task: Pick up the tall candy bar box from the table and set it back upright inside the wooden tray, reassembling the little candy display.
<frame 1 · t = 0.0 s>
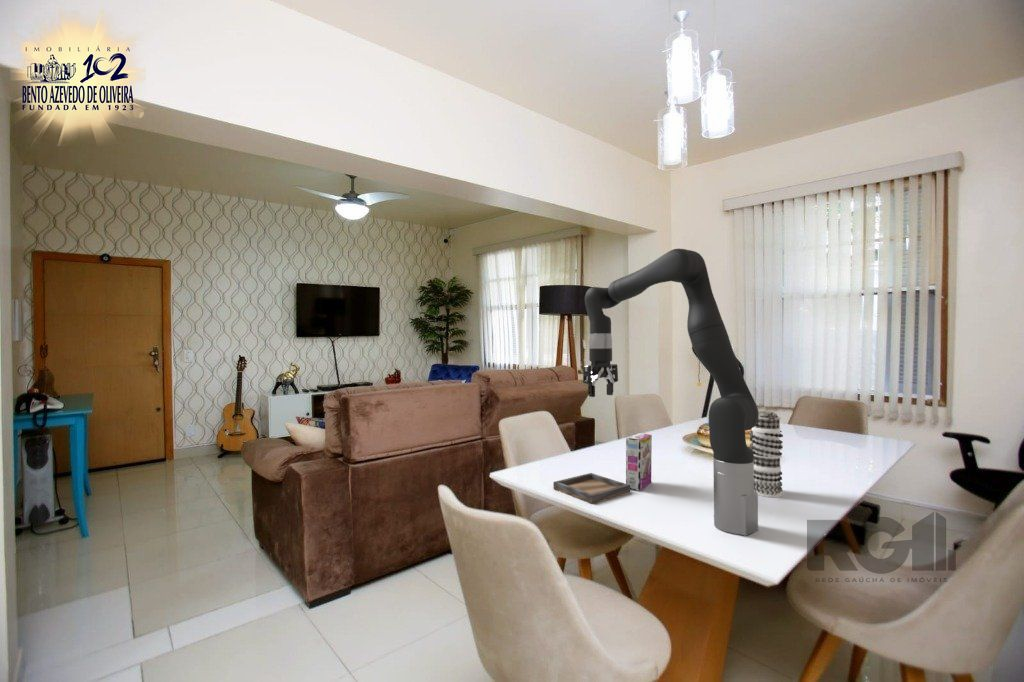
hand: (601, 395, 152), 29 cm above the table, tool pointing down, fingers open, 8 cm apart
wooden tray: (591, 490, 145), on the table
candy bar box: (639, 486, 150), on the table
decorative candle: (766, 493, 142), on the table
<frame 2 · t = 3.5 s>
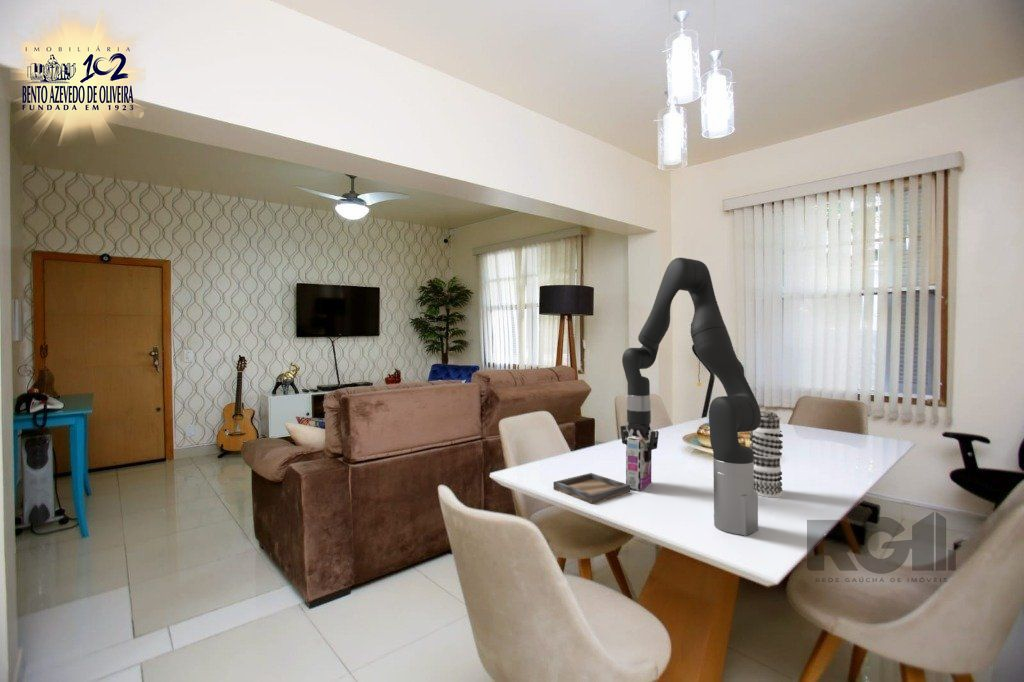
hand: (639, 459, 150), 9 cm above the table, tool pointing down, fingers closed on candy bar box, 6 cm apart
candy bar box: (639, 486, 150), on the table, touching gripper
everything else where it was.
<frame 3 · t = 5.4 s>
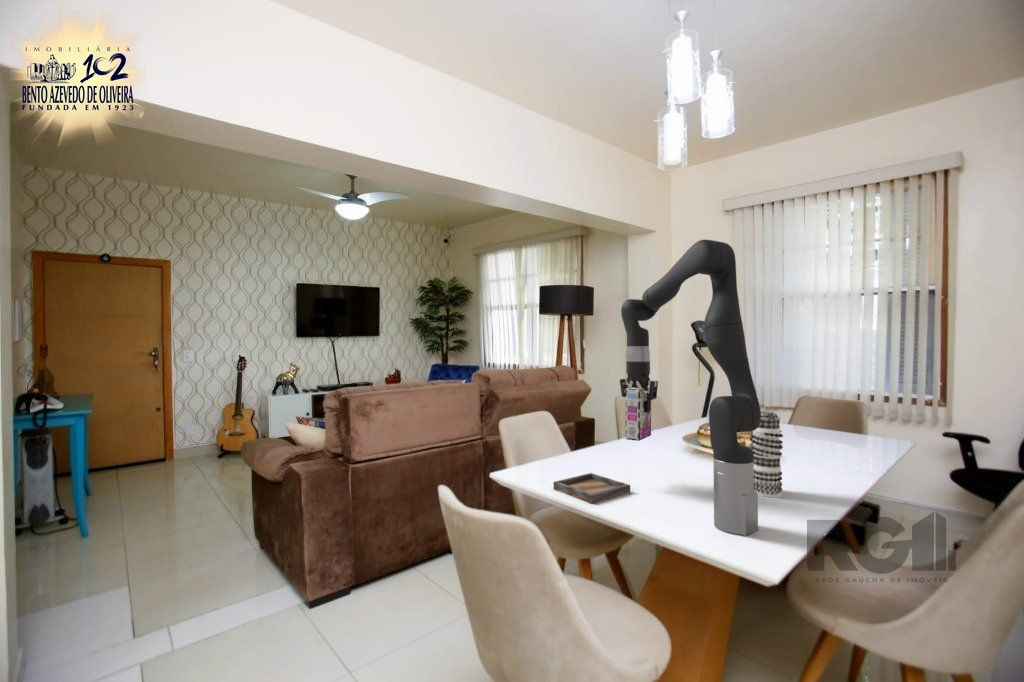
hand: (638, 411, 150), 24 cm above the table, tool pointing down, fingers closed on candy bar box, 6 cm apart
candy bar box: (639, 438, 150), point 16 cm above the table, touching gripper
everything else where it was.
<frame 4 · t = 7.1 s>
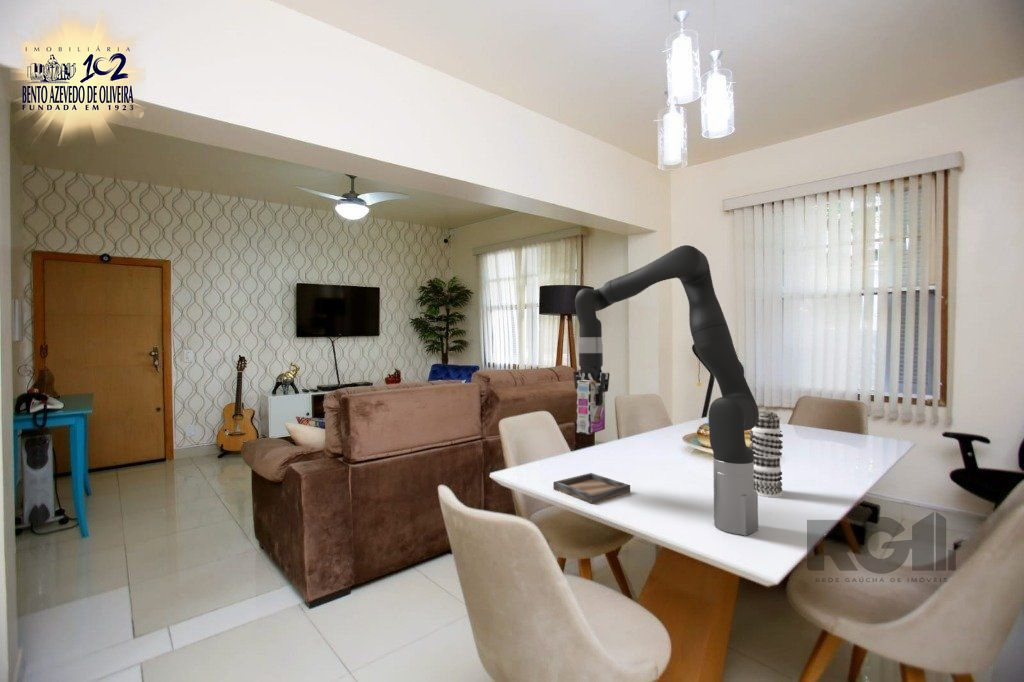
hand: (591, 404, 145), 27 cm above the table, tool pointing down, fingers closed on candy bar box, 6 cm apart
candy bar box: (591, 432, 145), point 19 cm above the table, touching gripper
everything else where it was.
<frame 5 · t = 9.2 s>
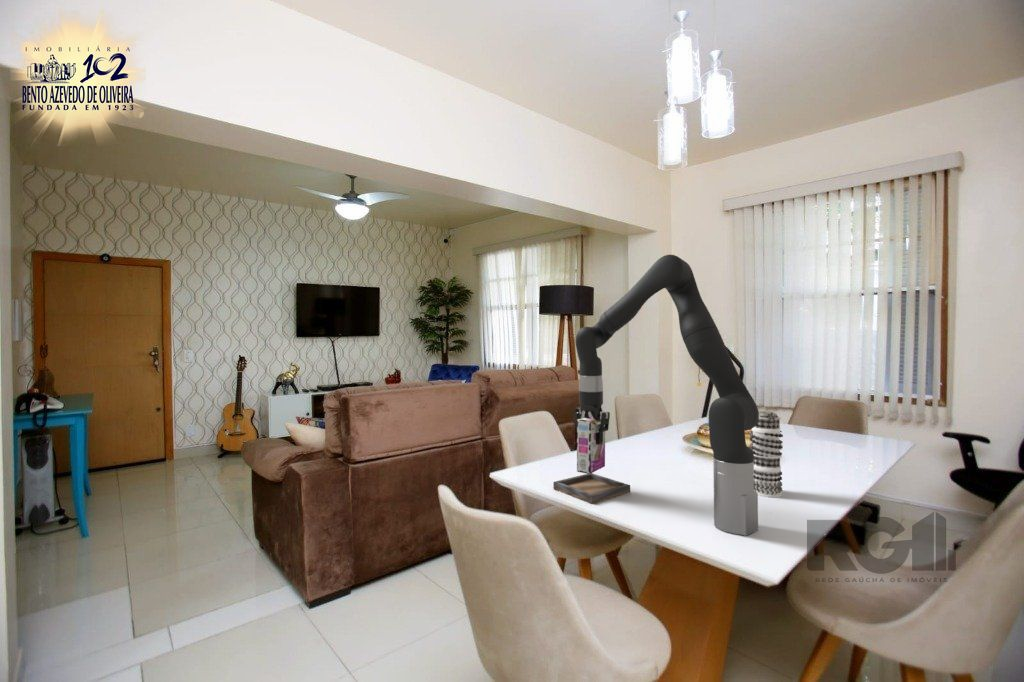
hand: (591, 442, 145), 15 cm above the table, tool pointing down, fingers closed on candy bar box, 6 cm apart
candy bar box: (591, 470, 145), point 7 cm above the table, touching gripper
everything else where it was.
when the fingers open (11 cm above the table, at t = 11.1 s): candy bar box drops 1 cm, resting on wooden tray.
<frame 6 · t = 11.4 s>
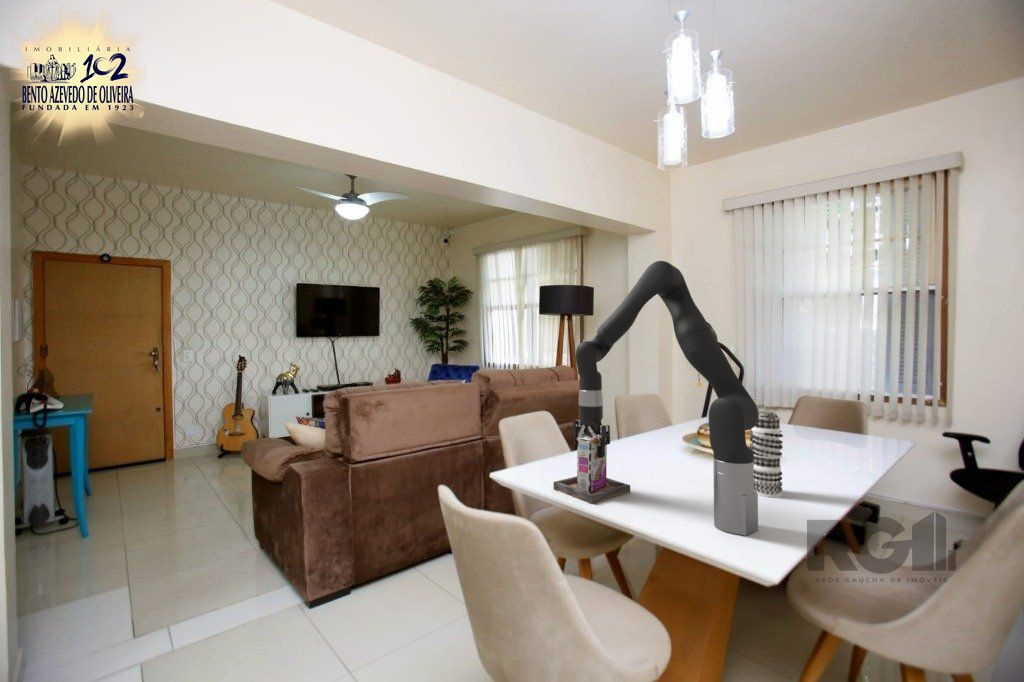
hand: (591, 455, 145), 11 cm above the table, tool pointing down, fingers open, 8 cm apart
candy bar box: (592, 489, 145), point 1 cm above the table, touching wooden tray
everything else where it was.
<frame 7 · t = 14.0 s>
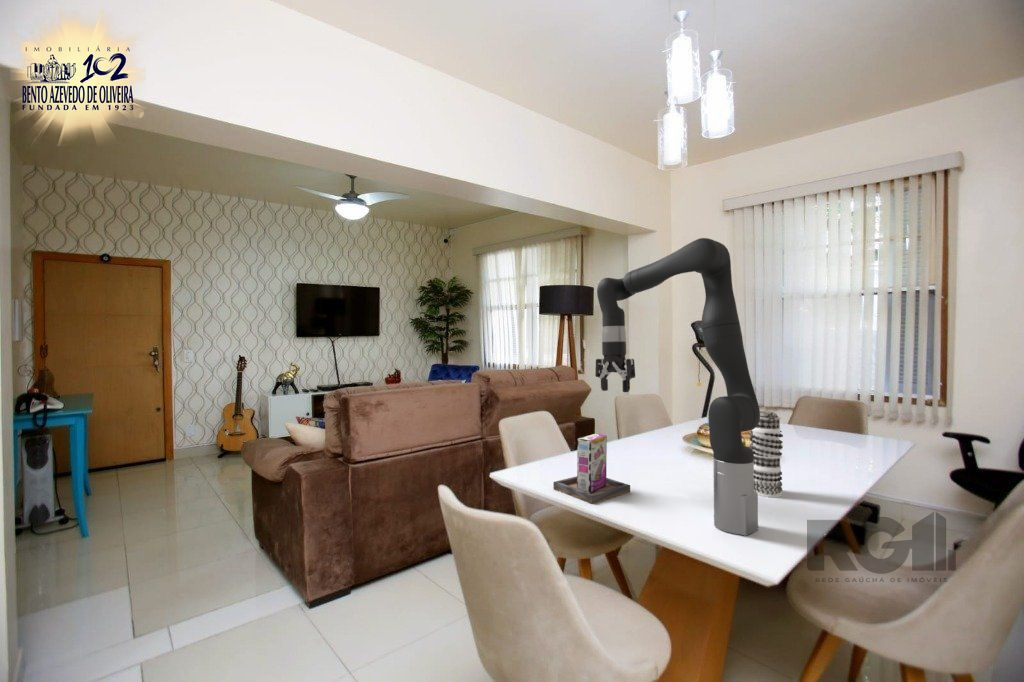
hand: (615, 391, 146), 31 cm above the table, tool pointing down, fingers open, 8 cm apart
nothing on the table moved.
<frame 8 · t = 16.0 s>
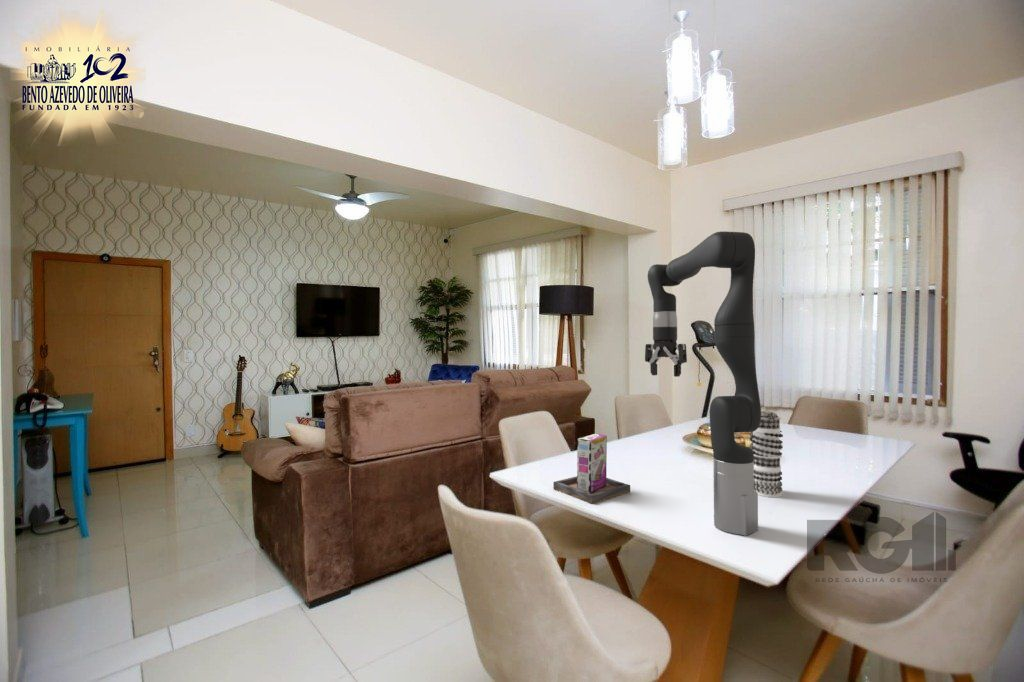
hand: (665, 375, 148), 36 cm above the table, tool pointing down, fingers open, 8 cm apart
nothing on the table moved.
at the end: candy bar box inside the target area on the wooden tray (0.4 cm from its centre), point 0.6 cm above the wooden tray's base; candy bar box tilted 0°; the gripper is holding nothing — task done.
